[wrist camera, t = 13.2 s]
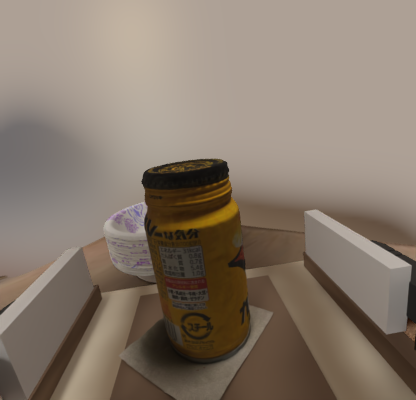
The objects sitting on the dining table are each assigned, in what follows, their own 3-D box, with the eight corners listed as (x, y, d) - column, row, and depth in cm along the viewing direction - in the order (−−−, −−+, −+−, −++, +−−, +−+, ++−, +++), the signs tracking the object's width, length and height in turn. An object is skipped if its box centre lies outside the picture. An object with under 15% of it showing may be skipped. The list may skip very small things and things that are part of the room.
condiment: (273, 314, 19) (261, 152, 16) (206, 423, 13) (162, 187, 9) (197, 288, 23) (176, 158, 20) (119, 359, 17) (68, 184, 14)
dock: (-49, 595, 11) (-98, 528, 9) (92, 320, 26) (80, 282, 25) (497, 486, 11) (516, 413, 10) (320, 283, 27) (319, 244, 26)
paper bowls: (191, 313, 25) (178, 240, 23) (91, 285, 33) (75, 228, 31) (245, 245, 38) (239, 193, 36) (164, 236, 45) (156, 193, 43)
